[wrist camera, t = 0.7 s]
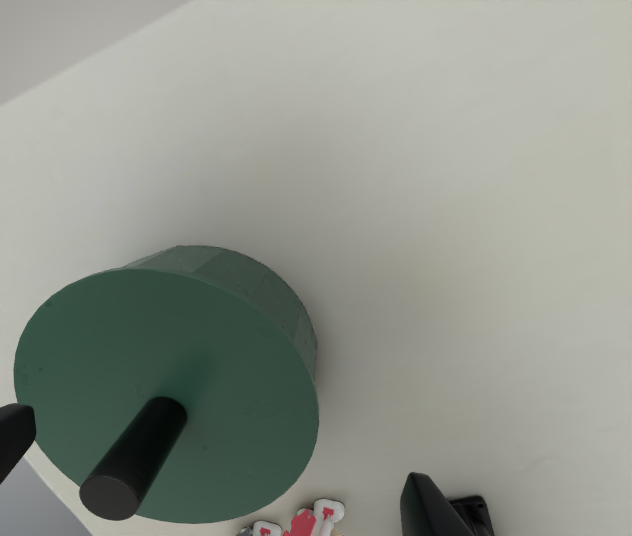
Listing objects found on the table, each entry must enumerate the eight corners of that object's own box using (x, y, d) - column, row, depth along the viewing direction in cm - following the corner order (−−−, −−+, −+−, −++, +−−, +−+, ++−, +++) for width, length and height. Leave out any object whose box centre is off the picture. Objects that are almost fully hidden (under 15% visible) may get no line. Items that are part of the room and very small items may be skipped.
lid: (356, 474, 19) (367, 596, 13) (123, 526, 21) (52, 648, 16) (251, 216, 14) (205, 243, 9) (-28, 316, 17) (-197, 385, 11)
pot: (344, 407, 24) (348, 480, 18) (165, 452, 26) (119, 531, 20) (268, 212, 20) (243, 229, 14) (63, 286, 22) (-30, 326, 16)
